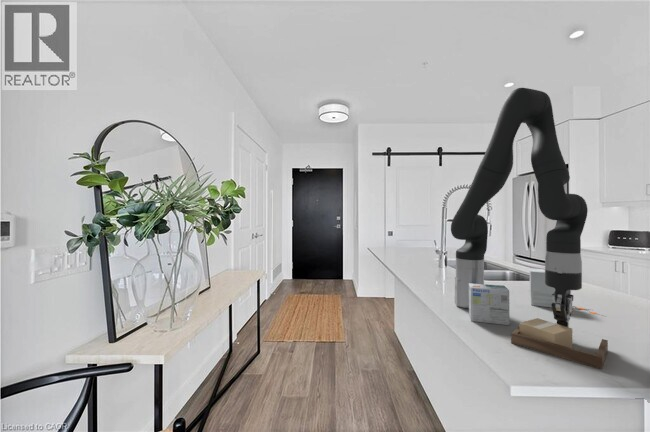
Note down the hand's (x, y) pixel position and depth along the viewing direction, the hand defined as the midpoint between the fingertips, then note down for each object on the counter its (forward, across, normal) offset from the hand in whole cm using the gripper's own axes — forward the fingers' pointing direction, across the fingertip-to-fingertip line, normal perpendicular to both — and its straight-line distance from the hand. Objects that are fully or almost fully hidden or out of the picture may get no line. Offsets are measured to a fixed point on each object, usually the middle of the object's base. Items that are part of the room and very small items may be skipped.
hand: (562, 334), depth 76 cm
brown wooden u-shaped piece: (+2, +5, 0) cm, 5 cm away
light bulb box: (+2, -2, -19) cm, 19 cm away
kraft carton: (+2, +6, -2) cm, 7 cm away
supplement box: (+2, -34, -11) cm, 36 cm away
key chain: (+2, -36, -1) cm, 36 cm away
